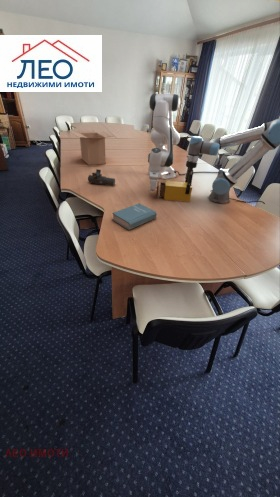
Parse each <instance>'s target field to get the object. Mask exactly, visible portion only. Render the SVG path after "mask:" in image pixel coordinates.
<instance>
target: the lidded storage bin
mask: <svg viewBox="0 0 280 497" xmlns="http://www.w3.org/2000/svg"><path fill="white" fill-rule="evenodd" d="M164 183H165V184H166V187H165V195H164V197H163V200H164V201H165V200H166V201H177V202H187V203H188V202H191V197H192V196H191V195H192V192H193V186H192V184H191V186H190V191H189V194H185V192H186V185H187V182H185V181H176V180H175V181H174V180H165V182H164Z"/></svg>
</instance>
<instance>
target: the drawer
mask: <svg viewBox="0 0 280 497" xmlns="http://www.w3.org/2000/svg"><path fill="white" fill-rule="evenodd" d="M165 187H166V184H165V182H162V181H161V182H160V181H159V180H157V184H156V188H155V190H151V189H150V186H149V187H148V191H149V192H150V193H151V192H152V191H153V192H155V198H158V197H159V198H164V195H165Z"/></svg>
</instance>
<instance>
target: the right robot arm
mask: <svg viewBox="0 0 280 497" xmlns="http://www.w3.org/2000/svg"><path fill="white" fill-rule="evenodd" d="M253 142H256V143H255V144H254V145H253V146H251V148H249V150H247V151H246V153H244V155H242V156H241V157H240V158H239V159H238V160H237V161H236V162H235V163H234V164H233V165H232V166H231V167H230V168H227V169H226V168H219V169H218V171H217V172H218V173H217V174H216V177H215V179H214V180H213V181H212V185H211V188H212V189H211V190H210V193H209V196H208V199H209V200H210V201H211V202H213V203H216V204H221V205H222V204H228V203H229V202H230V200H232V201H236V202H240V203H248V204H249V203H262V204H263V205H266V202H264V201H262V200H251V201H246V200H245V201H244V200H240V199H236V198H231V197H230V191H231V189H232V188H233V187H234V186H235V185H236V184H237V183H238V179H240V177H242V175H244V174H245V173H246V172H247V171H248V170H249V169H251V168H252V167H253V166H254V165H255V164H256V163H257V162H258V161H260V160H261V159H262V158H263V157H264V156H266V154H268V152H270V151H271V150H272V151H273V150H275V149H277V148H278V147H279V146H280V118H276V119H274V120H272V121H269V122H266V123H263V124H262V125H261V126H258V127H254V128H250V129H246V130H243V131H238V132H235V133H232V134H228V135H224V136H221V137H217V138H211V139H210V140H209V141H205V140H203V137H202V136H199V135H198V136H196V135H194V136H191V137H190V142H189V146H188V151H187V155H186V162H185V167H186V168H187V169H186V173H185V177H184V178H185V180H184V182H187V185H186V192H185V194H189V191H190V186H191V185H192V182H193V176H194V173H193V172H194V169H196V168H197V165H198V161H199V157H200V154H203V155H206V156H207V155H208V156H217V155H218V154H219V151H220V150H223V149H226V148H231V147H235V146H239V145H240V146H241V145H245V144H248V143H253Z"/></svg>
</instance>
